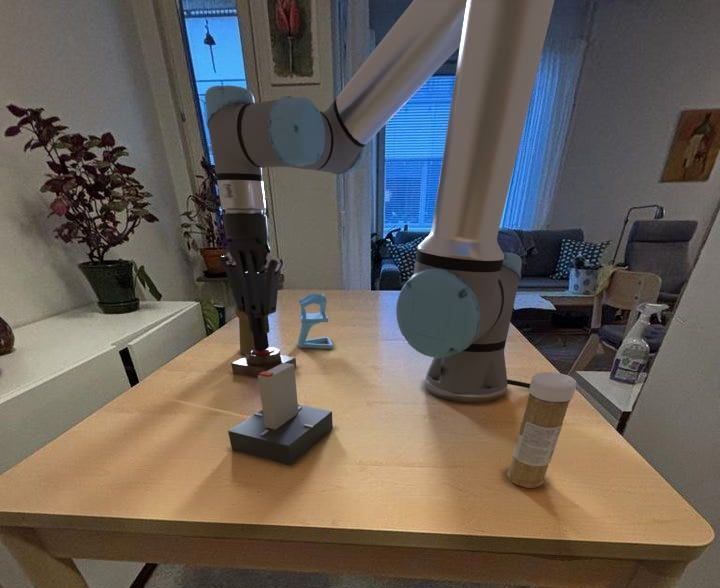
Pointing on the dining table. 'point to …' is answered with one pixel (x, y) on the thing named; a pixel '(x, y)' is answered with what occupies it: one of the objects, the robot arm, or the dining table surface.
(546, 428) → the sprinkles bottle
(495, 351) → the robot arm
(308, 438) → the panel
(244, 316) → the cork
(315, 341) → the chair
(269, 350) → the button
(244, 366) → the button block
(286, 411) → the handle
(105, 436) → the dining table surface
